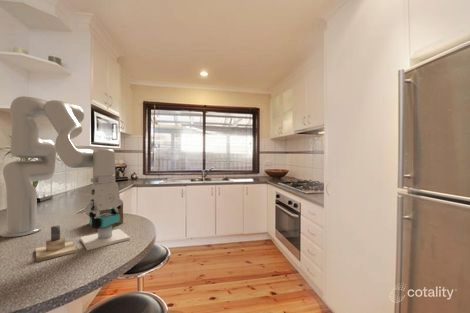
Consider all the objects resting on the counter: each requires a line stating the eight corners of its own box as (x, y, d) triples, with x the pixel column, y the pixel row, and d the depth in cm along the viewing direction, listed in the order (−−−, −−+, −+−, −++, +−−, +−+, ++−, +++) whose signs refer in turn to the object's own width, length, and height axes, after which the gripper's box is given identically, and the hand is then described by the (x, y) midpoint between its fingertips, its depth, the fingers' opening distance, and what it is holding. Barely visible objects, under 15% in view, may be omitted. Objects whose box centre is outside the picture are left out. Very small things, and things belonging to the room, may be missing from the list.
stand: (35, 250, 76) (35, 226, 76) (71, 242, 83) (71, 220, 83) (36, 262, 67) (36, 234, 67) (76, 252, 74) (75, 227, 74)
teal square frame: (90, 225, 83) (90, 217, 83) (106, 220, 90) (106, 212, 90) (103, 226, 81) (103, 218, 81) (119, 221, 87) (119, 214, 87)
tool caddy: (89, 223, 108) (89, 203, 108) (116, 218, 116) (116, 199, 116) (94, 228, 99) (94, 206, 99) (123, 222, 107) (122, 202, 107)
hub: (80, 239, 86) (80, 214, 86) (119, 231, 95) (119, 208, 95) (87, 250, 75) (86, 221, 75) (129, 239, 85) (129, 213, 85)
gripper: (89, 182, 76) (90, 233, 76) (129, 178, 92) (130, 220, 92) (75, 182, 79) (75, 231, 78) (116, 178, 95) (116, 218, 95)
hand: (105, 225), depth 85 cm, fingers closed on teal square frame, 7 cm apart
